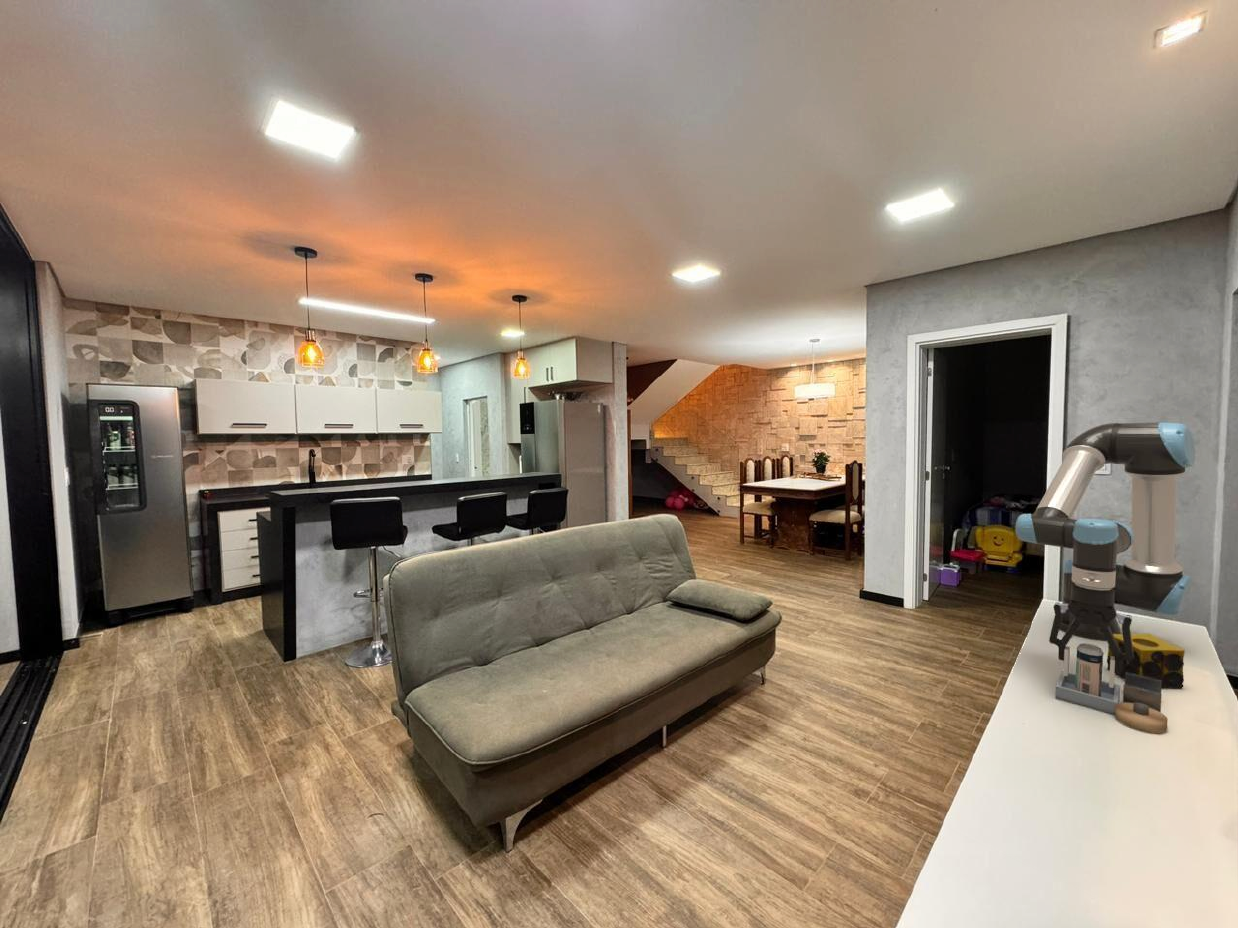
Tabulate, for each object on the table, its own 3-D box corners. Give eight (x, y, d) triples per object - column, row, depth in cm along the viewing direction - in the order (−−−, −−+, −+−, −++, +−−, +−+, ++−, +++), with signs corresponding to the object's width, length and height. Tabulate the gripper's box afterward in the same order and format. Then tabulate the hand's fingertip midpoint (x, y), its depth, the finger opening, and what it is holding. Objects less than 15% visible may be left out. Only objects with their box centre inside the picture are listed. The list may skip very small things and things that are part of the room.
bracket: (1124, 691, 126) (1125, 671, 125) (1160, 700, 121) (1161, 680, 121) (1122, 706, 119) (1123, 686, 119) (1160, 717, 115) (1161, 695, 114)
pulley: (1116, 708, 119) (1116, 691, 118) (1166, 722, 113) (1167, 704, 113) (1113, 723, 113) (1114, 705, 113) (1167, 738, 107) (1168, 720, 107)
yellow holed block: (1147, 669, 136) (1149, 633, 135) (1185, 689, 126) (1187, 650, 125) (1105, 669, 137) (1106, 632, 136) (1139, 688, 127) (1141, 649, 126)
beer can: (1106, 701, 121) (1109, 651, 120) (1084, 700, 121) (1086, 651, 120) (1091, 690, 125) (1093, 642, 124) (1069, 689, 126) (1071, 642, 125)
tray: (1061, 682, 131) (1061, 670, 131) (1119, 697, 123) (1120, 685, 123) (1055, 698, 124) (1055, 686, 123) (1116, 715, 116) (1117, 702, 116)
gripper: (1035, 580, 126) (1031, 671, 128) (1154, 599, 111) (1148, 701, 113) (1040, 573, 131) (1036, 660, 133) (1155, 590, 116) (1149, 688, 118)
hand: (1088, 679), depth 123 cm, fingers open, 7 cm apart
